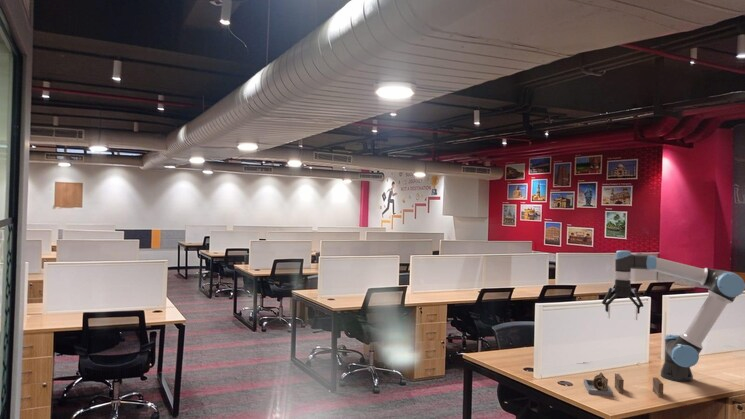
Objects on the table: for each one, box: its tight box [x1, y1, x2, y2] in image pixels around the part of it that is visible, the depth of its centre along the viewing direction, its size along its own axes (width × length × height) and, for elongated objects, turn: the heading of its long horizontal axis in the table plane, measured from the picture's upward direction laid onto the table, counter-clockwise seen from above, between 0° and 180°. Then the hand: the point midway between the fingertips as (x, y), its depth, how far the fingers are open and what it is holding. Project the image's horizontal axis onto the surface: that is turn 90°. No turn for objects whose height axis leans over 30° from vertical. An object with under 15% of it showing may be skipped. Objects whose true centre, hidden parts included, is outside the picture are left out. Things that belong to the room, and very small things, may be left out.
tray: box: [583, 378, 614, 397], centre depth 254 cm, size 11×17×2 cm, turn 165°
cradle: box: [614, 373, 664, 399], centre depth 252 cm, size 19×10×7 cm, turn 75°
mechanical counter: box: [592, 372, 609, 391], centre depth 252 cm, size 7×13×10 cm, turn 169°
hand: (622, 318), depth 276 cm, fingers open, 13 cm apart
